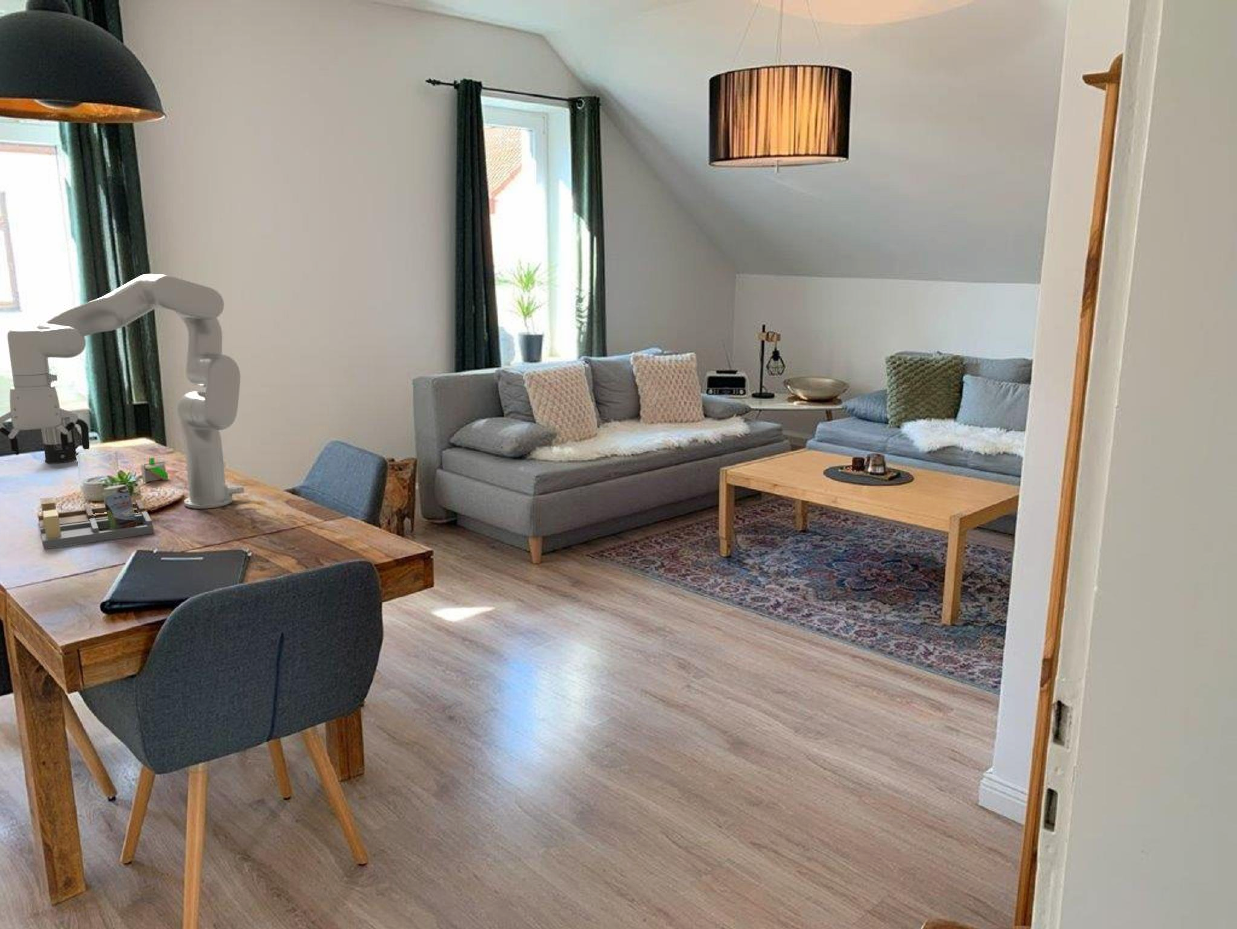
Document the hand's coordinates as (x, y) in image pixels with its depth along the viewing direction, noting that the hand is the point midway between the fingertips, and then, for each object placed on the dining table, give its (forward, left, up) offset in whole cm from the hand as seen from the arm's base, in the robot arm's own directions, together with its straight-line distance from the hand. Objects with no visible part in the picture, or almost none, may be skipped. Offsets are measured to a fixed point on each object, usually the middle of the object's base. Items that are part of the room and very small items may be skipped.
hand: (40, 451), depth 228 cm
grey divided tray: (-10, 0, -23) cm, 25 cm away
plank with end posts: (-10, -13, -23) cm, 28 cm away
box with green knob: (-30, -50, -23) cm, 63 cm away
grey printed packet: (-15, 0, -23) cm, 27 cm away
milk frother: (-8, -98, -23) cm, 101 cm away
